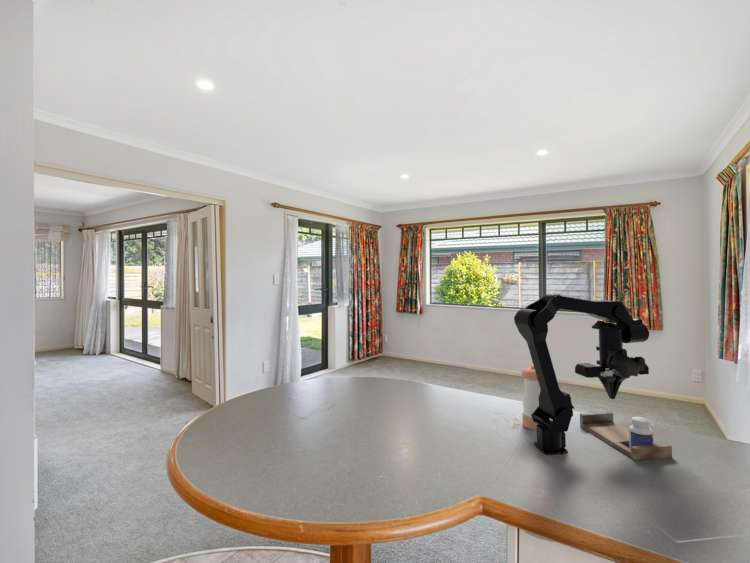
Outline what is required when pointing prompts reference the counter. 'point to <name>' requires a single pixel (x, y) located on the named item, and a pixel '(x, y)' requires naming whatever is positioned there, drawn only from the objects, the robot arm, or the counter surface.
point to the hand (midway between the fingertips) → (612, 398)
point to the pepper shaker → (530, 396)
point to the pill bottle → (640, 432)
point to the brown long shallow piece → (621, 437)
